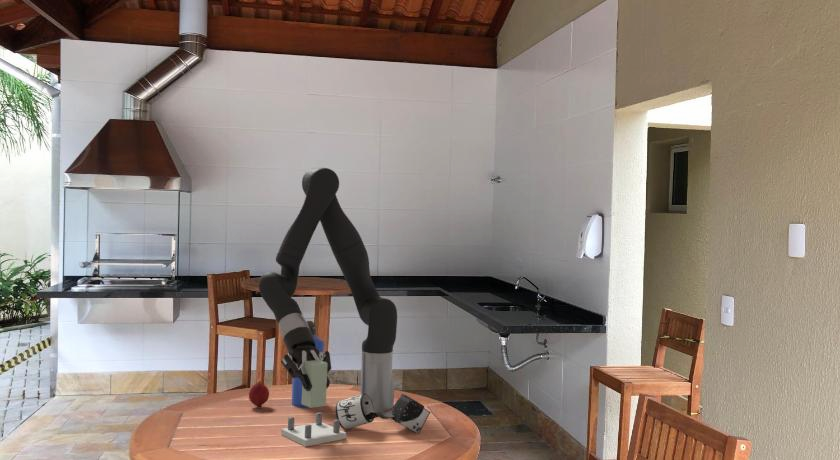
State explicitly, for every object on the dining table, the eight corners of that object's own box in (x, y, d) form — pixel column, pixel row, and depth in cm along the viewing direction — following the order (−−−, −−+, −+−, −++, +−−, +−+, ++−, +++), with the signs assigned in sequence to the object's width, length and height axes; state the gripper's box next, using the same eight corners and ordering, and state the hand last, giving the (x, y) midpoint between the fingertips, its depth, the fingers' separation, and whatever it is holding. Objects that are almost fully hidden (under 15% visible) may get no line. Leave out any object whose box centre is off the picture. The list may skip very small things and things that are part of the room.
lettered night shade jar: (333, 435, 191) (334, 397, 190) (336, 425, 200) (337, 388, 200) (430, 437, 192) (432, 399, 192) (428, 426, 202) (429, 390, 202)
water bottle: (319, 408, 217) (322, 323, 217) (288, 407, 217) (291, 322, 217) (324, 400, 226) (326, 319, 226) (294, 399, 227) (296, 318, 226)
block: (316, 401, 192) (318, 359, 192) (325, 405, 188) (327, 362, 188) (301, 404, 189) (303, 361, 189) (310, 407, 185) (312, 364, 185)
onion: (263, 410, 213) (264, 382, 213) (245, 408, 214) (246, 381, 214) (271, 405, 218) (272, 378, 218) (253, 404, 219) (254, 377, 219)
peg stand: (320, 427, 197) (321, 410, 197) (345, 438, 188) (346, 421, 188) (281, 434, 189) (281, 417, 189) (305, 446, 180) (305, 428, 180)
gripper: (277, 327, 189) (299, 382, 180) (324, 324, 199) (348, 377, 189) (267, 344, 194) (288, 399, 184) (313, 340, 203) (335, 393, 194)
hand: (318, 388), depth 187 cm, fingers closed on block, 4 cm apart
